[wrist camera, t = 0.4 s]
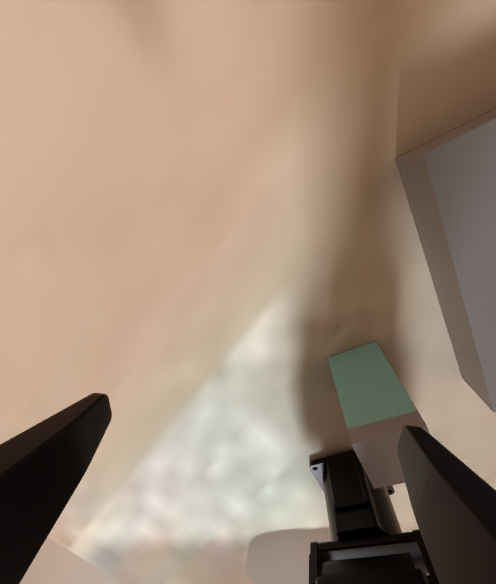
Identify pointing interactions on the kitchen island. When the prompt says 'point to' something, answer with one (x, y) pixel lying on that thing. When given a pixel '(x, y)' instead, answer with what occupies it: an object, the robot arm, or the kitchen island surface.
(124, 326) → the kitchen island surface
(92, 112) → the kitchen island surface
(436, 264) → the outlet plate
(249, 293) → the kitchen island surface
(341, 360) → the block
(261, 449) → the kitchen island surface
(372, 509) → the robot arm
